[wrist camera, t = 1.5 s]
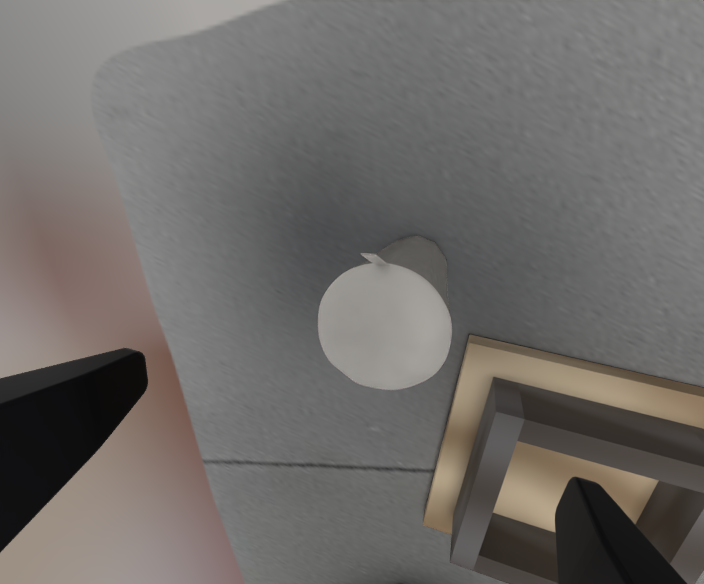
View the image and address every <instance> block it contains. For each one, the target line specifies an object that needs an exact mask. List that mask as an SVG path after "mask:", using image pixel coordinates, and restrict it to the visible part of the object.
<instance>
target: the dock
mask: <svg viewBox="0 0 704 584" xmlns="http://www.w3.org/2000/svg"><path fill="white" fill-rule="evenodd" d="M575 476H576V477H580V478H584V479H587V480H591V481H594V482H596V483H598V484H600V485H601V486H602V487H603V488H604V490H605V491H606V492H607V493H608V494H609V495H610V496H611V497H612V499H613V500H614V501H615V502H616V503H617V504H618V505H619V506H620V508H621V509H622V510H623V511H624V512H625V513H626V514H627V516H628V517H629V518H630V519H631V520H632V521H633V522H634V523H635V525H636V526H637V527H638V528H639V529H640V530H641V531H642V533H643V534H644V535H645V536H646V537H647V538H648V539H649V540H650V542H651V543H652V544H653V545H654V546H655V547H656V548H657V550H658V551H659V552H660V553H661V554H662V555H663V556H664V557H665V559H666V560H667V561H668V562H669V563H670V564H671V565H672V567H673V568H674V569H675V570H676V571H677V572H678V573H679V574H680V576H681V577H682V578H683V579H684V580H685V581H686V582H687V584H695V583H696V581H697V580H698V578H699V577H700V575H701V574H702V572H703V571H704V388H703V387H698V386H694V385H690V384H685V383H681V382H676V381H672V380H668V379H663V378H659V377H654V376H650V375H646V374H641V373H637V372H633V371H628V370H624V369H619V368H615V367H611V366H606V365H602V364H597V363H593V362H589V361H584V360H580V359H575V358H571V357H567V356H562V355H558V354H553V353H549V352H545V351H540V350H536V349H532V348H527V347H523V346H518V345H514V344H510V343H505V342H501V341H496V340H492V339H488V338H483V337H479V336H474V335H469V339H468V342H467V346H466V350H465V354H464V358H463V362H462V366H461V370H460V374H459V378H458V382H457V386H456V390H455V394H454V398H453V402H452V406H451V410H450V413H449V417H448V421H447V425H446V429H445V433H444V437H443V441H442V445H441V449H440V453H439V457H438V461H437V465H436V469H435V473H434V477H433V480H432V484H431V488H430V492H429V496H428V500H427V504H426V508H425V512H424V519H423V525H424V526H427V527H430V528H433V529H436V530H439V531H442V532H445V533H448V534H450V535H452V537H451V553H450V563H453V564H456V565H458V566H461V567H464V568H467V569H470V570H472V571H475V572H478V573H481V574H484V575H486V576H489V577H492V578H495V579H497V580H500V581H503V582H506V583H509V584H558V570H557V552H556V534H555V512H556V508H557V505H558V503H559V501H560V499H561V496H562V494H563V492H564V490H565V488H566V485H567V483H568V481H569V480H570V479H571V478H572V477H575Z"/></svg>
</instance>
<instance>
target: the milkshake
mask: <svg viewBox="0 0 704 584" xmlns="http://www.w3.org/2000/svg"><path fill="white" fill-rule="evenodd" d="M360 254H361V255H362V256H363V257H365V258H366V259H367V260H366V261H364V262H363V263H361V264H359V265H357V266H355V267H354V268H352V269H350V270H348V271H346V272H344V273H343V274H341V275H340V276H339V277H338V278H337V279H336V280H335V281H334V282H333V283H332V284H331V285H330V286H329V288H328V289H327V290H326V292H325V294H324V296H323V298H322V300H321V303H320V307H319V314H318V334H319V339H320V343H321V346H322V348H323V351H324V353H325V355H326V357H327V358H328V360H329V361H330V362H331V363H332V364H333V365H334V366H335V367H336V368H337V369H339V370H340V371H341V372H343V373H344V374H345V375H346V376H347V377H349V378H350V379H351V380H353V381H354V382H356V383H358V384H360V385H363V386H367V387H372V388H377V389H384V390H399V389H404V388H408V387H411V386H414V385H417V384H419V383H422V382H424V381H426V380H427V379H429V378H431V377H432V376H433V375H435V374H436V373H437V372H438V371H439V369H440V368H441V367H442V365H443V364H444V362H445V360H446V358H447V355H448V352H449V349H450V344H451V337H452V324H451V318H450V309H449V301H448V291H447V259H446V258H445V256H444V255H443V253H442V252H441V250H440V248H439V247H438V245H437V244H436V242H433V241H431V240H428V239H425V238H423V237H420V236H418V235H415V236H411V237H407V238H403V239H399V240H396V241H395V242H393V243H392V244H390V245H389V246H387V247H386V248H384V249H383V250H381V251H380V252H378V253H377V254H371V253H360Z"/></svg>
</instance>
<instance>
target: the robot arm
mask: <svg viewBox="0 0 704 584" xmlns="http://www.w3.org/2000/svg"><path fill="white" fill-rule="evenodd" d="M147 385H148V377H147V369H146V362H145V356H144V355H143V353H141V352H139V351H136V350H132V349H129V348H123V349H118V350H115V351H110V352H106V353H102V354H98V355H94V356H90V357H86V358H82V359H78V360H73V361H69V362H65V363H61V364H57V365H53V366H49V367H45V368H41V369H37V370H33V371H29V372H25V373H21V374H17V375H13V376H9V377H4V378H1V379H0V552H1V551H2V550H3V549H4V548H5V547H6V546H7V545H8V544H9V543H10V542H11V541H12V539H14V538H15V537H16V535H18V533H19V532H20V531H21V530H22V529H23V528H24V527H25V526H26V525H27V524H28V523H29V522H30V521H31V520H32V519H33V518H34V517H35V516H36V515H37V514H38V513H39V512H40V510H41V509H42V508H43V507H44V506H45V505H46V504H47V503H48V502H49V501H50V500H51V499H52V498H53V497H54V496H55V495H56V494H57V493H58V492H59V490H61V488H62V487H63V486H64V485H65V484H66V483H67V482H68V481H69V480H70V479H71V478H72V477H73V476H74V475H75V474H76V473H77V472H78V471H79V470H80V468H82V466H83V465H84V464H85V463H86V462H87V461H88V460H89V459H90V458H91V457H92V456H93V455H94V454H95V453H96V451H97V450H98V449H99V448H100V447H101V446H102V445H103V443H104V442H105V441H106V440H107V439H108V437H109V436H110V435H111V434H112V432H113V431H114V430H115V429H116V427H117V426H118V425H119V424H120V422H121V421H122V420H123V419H124V417H125V416H126V415H127V414H128V413H129V411H130V410H131V408H133V406H134V405H135V404H136V403H137V401H138V400H139V399H140V398H141V396H142V395H143V394H144V392H145V391H146V389H147ZM555 534H556V552H557V570H558V584H687V582H686V581H685V580H684V579H683V578H682V577H681V576H680V574H679V573H678V572H677V571H676V570H675V569H674V568H673V567H672V565H671V564H670V563H669V562H668V561H667V560H666V559H665V557H664V556H663V555H662V554H661V553H660V552H659V551H658V550H657V548H656V547H655V546H654V545H653V544H652V543H651V542H650V540H649V539H648V538H647V537H646V536H645V535H644V534H643V533H642V531H641V530H640V529H639V528H638V527H637V526H636V525H635V523H634V522H633V521H632V520H631V519H630V518H629V517H628V516H627V514H626V513H625V512H624V511H623V510H622V509H621V508H620V506H619V505H618V504H617V503H616V502H615V501H614V500H613V499H612V497H611V496H610V495H609V494H608V493H607V492H606V491H605V490H604V488H603V487H602V486H601V485H600V484H598V483H596V482H594V481H591V480H587V479H584V478H580V477H576V476H575V477H572V478H571V479H570V480H569V481H568V483H567V485H566V488H565V490H564V492H563V494H562V496H561V499H560V501H559V503H558V505H557V508H556V512H555Z"/></svg>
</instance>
